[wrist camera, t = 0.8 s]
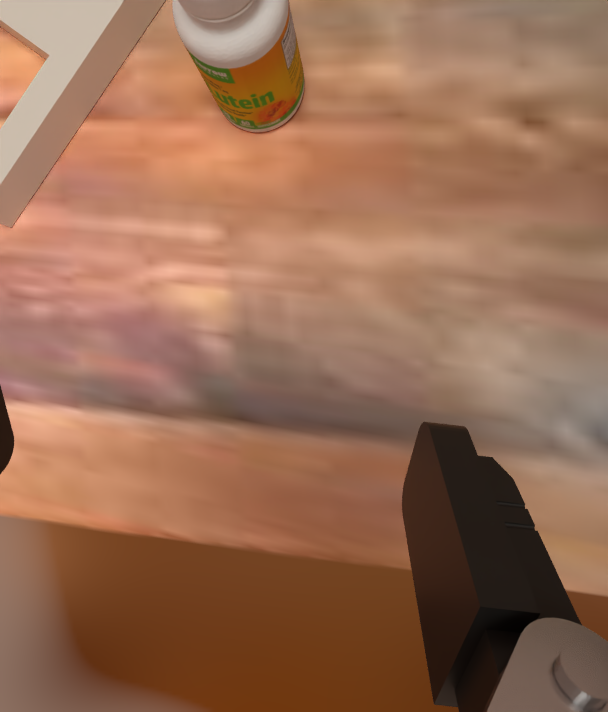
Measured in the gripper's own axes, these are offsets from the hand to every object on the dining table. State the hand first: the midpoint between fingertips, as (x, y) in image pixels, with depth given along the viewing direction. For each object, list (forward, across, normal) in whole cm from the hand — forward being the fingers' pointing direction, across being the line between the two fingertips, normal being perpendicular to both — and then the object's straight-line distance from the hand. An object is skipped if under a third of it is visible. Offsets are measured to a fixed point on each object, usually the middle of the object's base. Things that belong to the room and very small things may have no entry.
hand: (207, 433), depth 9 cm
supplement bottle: (+25, +3, -6) cm, 26 cm away
